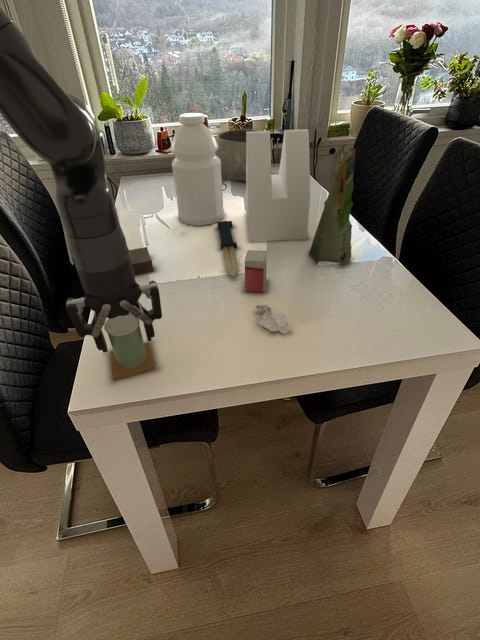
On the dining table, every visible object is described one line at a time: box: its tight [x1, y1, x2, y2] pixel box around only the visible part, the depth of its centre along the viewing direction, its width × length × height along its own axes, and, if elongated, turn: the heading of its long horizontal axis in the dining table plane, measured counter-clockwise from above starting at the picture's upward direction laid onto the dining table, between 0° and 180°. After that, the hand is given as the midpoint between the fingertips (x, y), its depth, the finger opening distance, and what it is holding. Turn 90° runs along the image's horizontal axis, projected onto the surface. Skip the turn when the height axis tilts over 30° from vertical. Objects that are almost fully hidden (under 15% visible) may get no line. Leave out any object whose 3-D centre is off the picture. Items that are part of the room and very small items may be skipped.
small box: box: [244, 249, 268, 294], centre depth 81 cm, size 5×4×8 cm
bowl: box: [215, 128, 274, 182], centre depth 141 cm, size 23×23×15 cm
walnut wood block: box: [129, 246, 155, 276], centre depth 91 cm, size 6×8×3 cm
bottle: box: [170, 112, 225, 226], centre depth 107 cm, size 14×14×28 cm
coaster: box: [109, 341, 156, 381], centre depth 66 cm, size 7×7×1 cm
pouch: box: [308, 146, 357, 266], centre depth 85 cm, size 11×12×25 cm
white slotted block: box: [245, 128, 311, 243], centre depth 101 cm, size 19×15×25 cm
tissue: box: [254, 304, 289, 334], centre depth 72 cm, size 6×8×4 cm
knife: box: [216, 220, 239, 279], centre depth 97 cm, size 4×2×30 cm
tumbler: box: [103, 313, 147, 369], centre depth 63 cm, size 6×6×8 cm
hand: (127, 343), depth 63 cm, fingers open, 7 cm apart
